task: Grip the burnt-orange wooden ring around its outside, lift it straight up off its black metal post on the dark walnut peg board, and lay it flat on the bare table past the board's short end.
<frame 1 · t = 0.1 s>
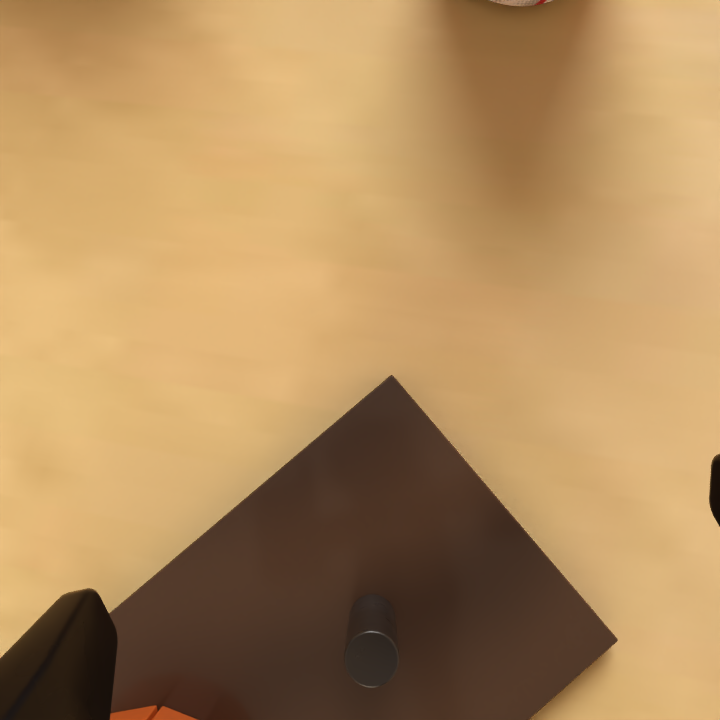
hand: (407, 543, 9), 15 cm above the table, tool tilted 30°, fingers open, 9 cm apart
peg board: (266, 700, 24), on the table
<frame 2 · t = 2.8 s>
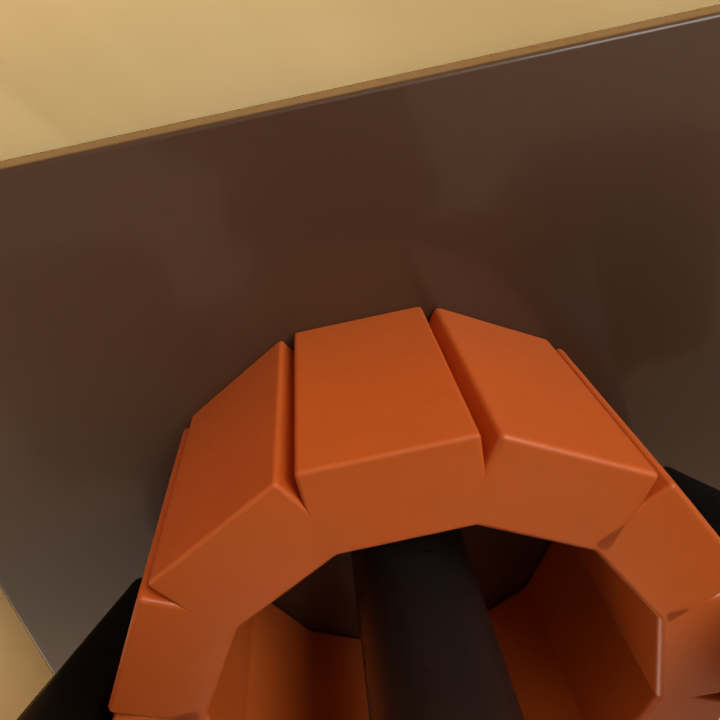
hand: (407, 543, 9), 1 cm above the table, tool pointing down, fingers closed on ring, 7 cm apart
ring: (400, 523, 10), point 1 cm above the table, touching gripper, peg board
peg board: (693, 417, 11), on the table
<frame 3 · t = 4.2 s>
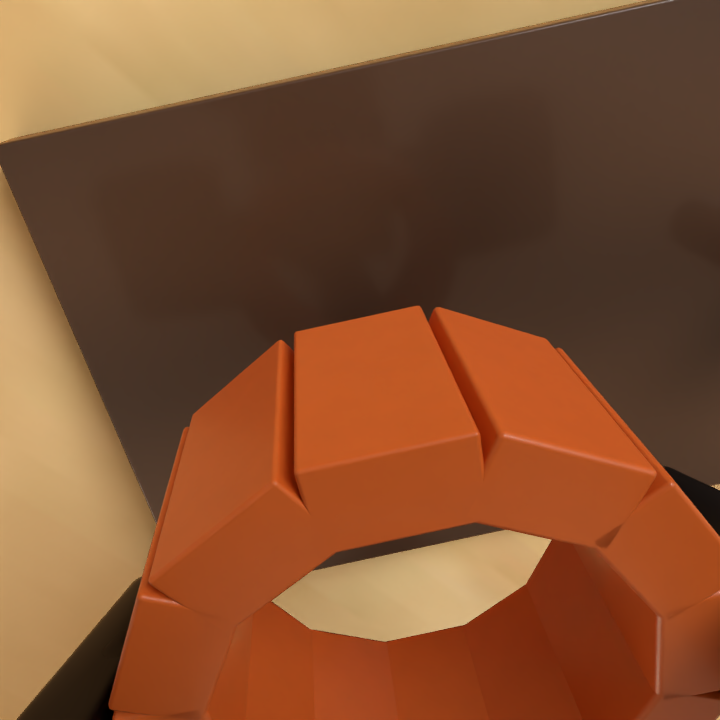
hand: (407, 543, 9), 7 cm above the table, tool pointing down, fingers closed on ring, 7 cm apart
ring: (400, 522, 10), point 7 cm above the table, touching gripper
peg board: (561, 296, 16), on the table
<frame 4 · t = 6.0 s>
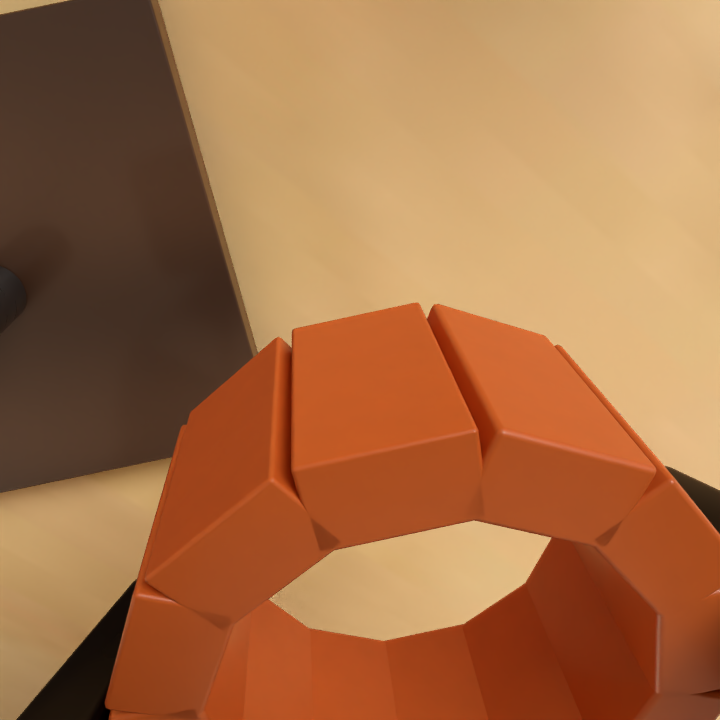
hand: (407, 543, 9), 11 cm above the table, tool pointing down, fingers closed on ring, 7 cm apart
ring: (399, 520, 10), point 10 cm above the table, touching gripper
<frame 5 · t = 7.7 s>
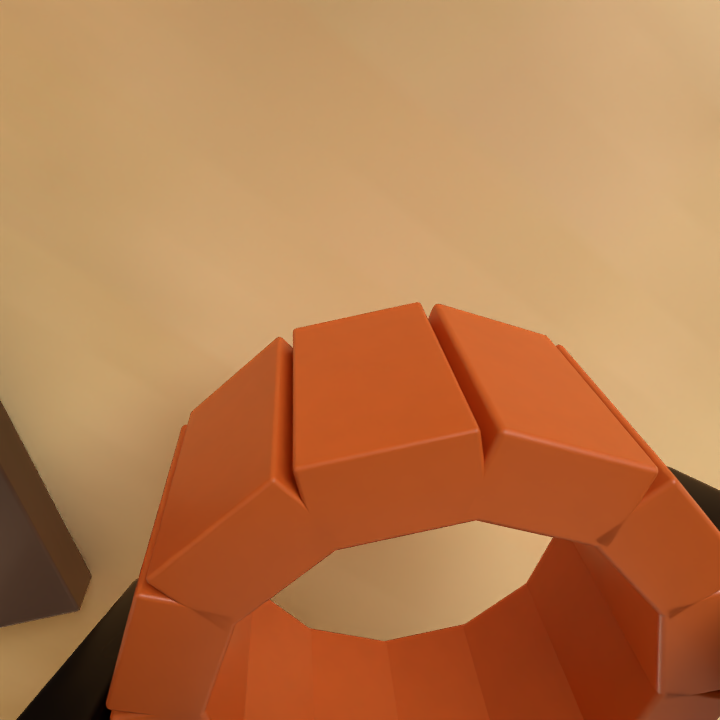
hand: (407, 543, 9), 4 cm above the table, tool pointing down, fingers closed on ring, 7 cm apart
ring: (400, 520, 10), point 4 cm above the table, touching gripper
when the fingers open (0 cm above the table, at t = 9.2 s): ring stays where it is, on the table.
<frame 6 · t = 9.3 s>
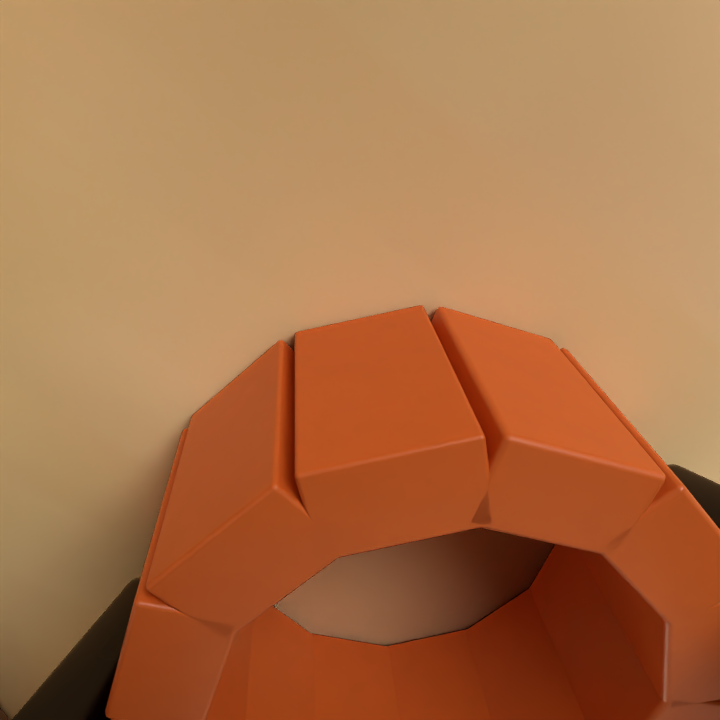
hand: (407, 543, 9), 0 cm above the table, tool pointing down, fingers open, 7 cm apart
ring: (402, 525, 10), on the table
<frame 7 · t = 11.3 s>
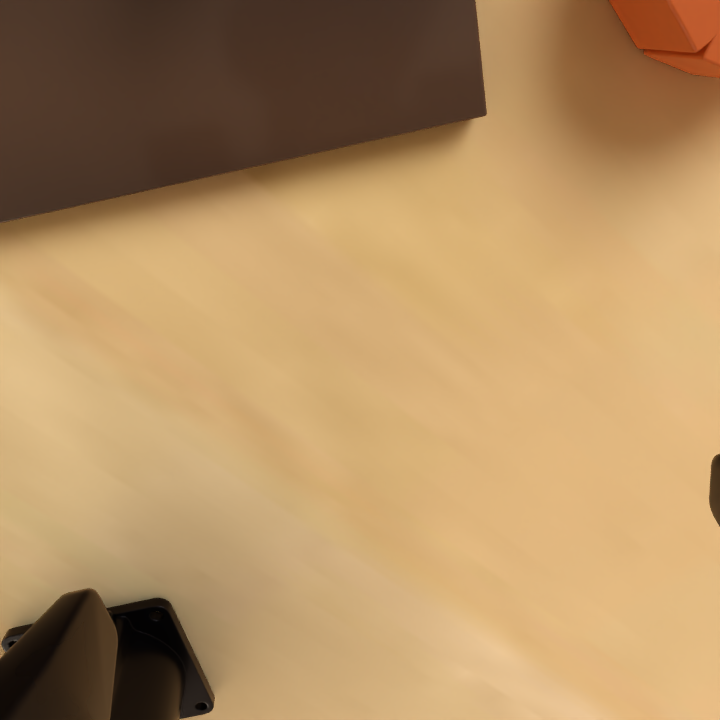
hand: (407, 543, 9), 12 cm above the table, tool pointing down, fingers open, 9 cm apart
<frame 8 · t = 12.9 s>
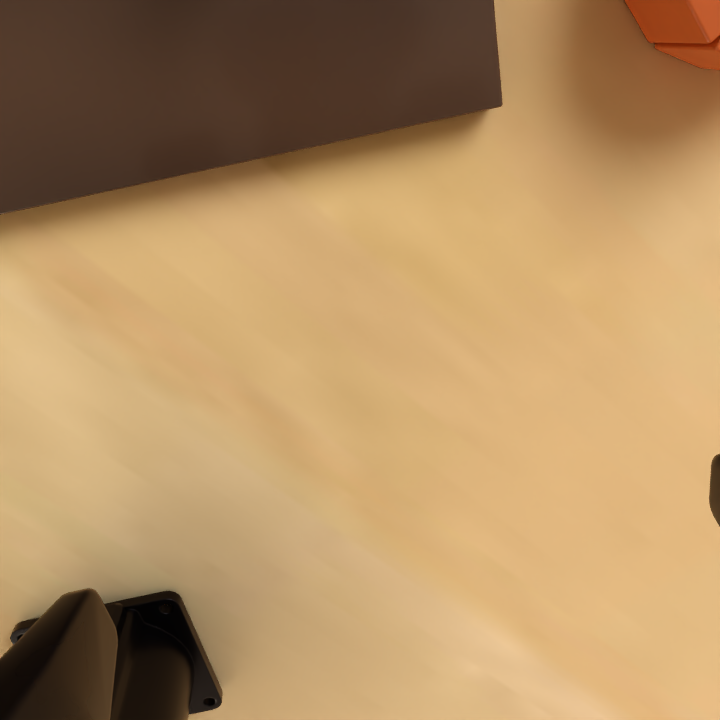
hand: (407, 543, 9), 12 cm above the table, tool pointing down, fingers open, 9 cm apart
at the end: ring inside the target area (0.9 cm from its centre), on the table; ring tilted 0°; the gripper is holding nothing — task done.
